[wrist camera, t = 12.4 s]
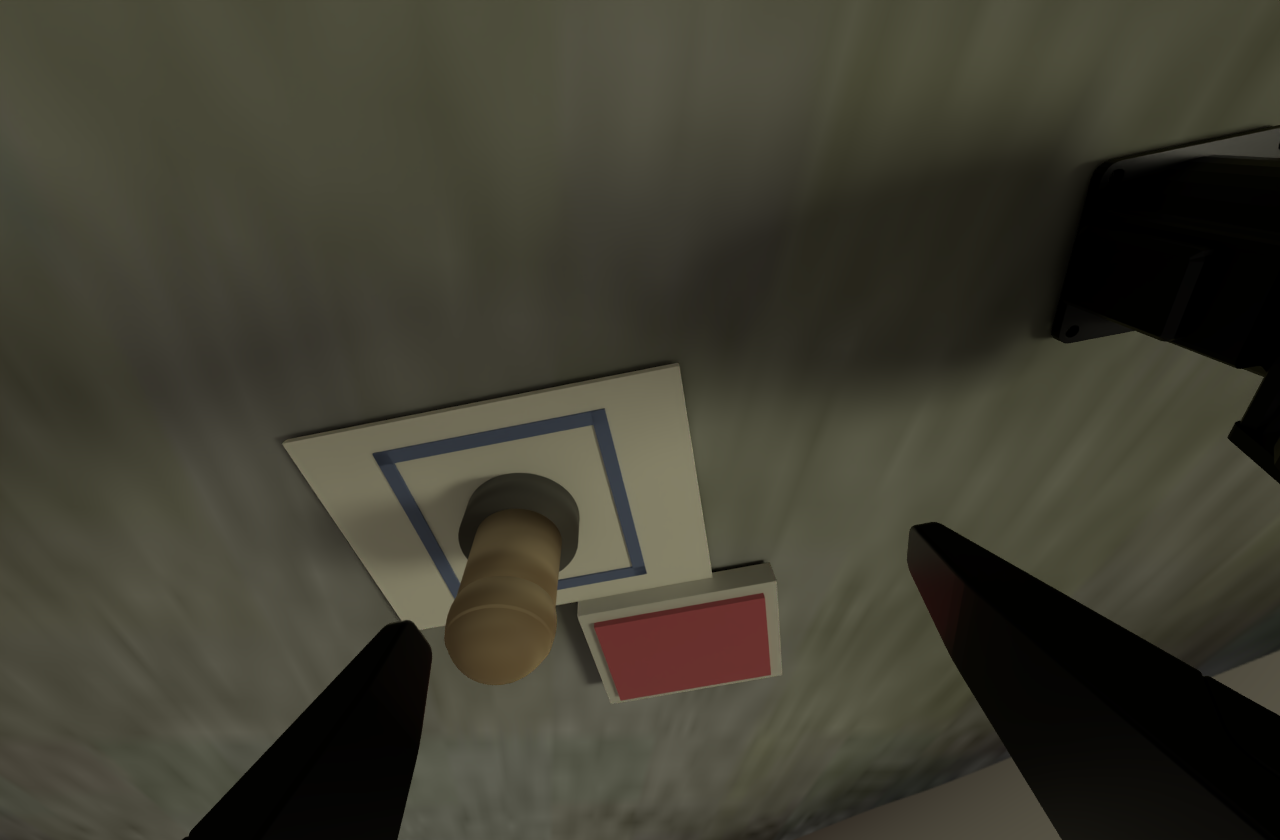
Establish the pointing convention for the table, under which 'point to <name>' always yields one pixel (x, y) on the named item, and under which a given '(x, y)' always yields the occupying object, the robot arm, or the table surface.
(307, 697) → the table surface
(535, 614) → the stamp
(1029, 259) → the table surface
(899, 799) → the table surface
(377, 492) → the paper
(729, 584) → the ink pad
